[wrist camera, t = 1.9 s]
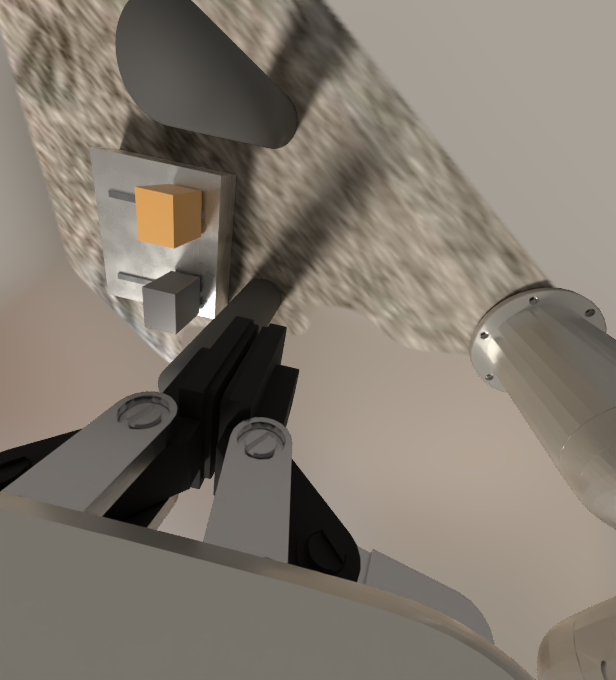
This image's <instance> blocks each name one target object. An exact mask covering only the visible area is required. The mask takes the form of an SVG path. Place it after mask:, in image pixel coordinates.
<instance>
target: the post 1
mask: <svg viewBox="0 0 616 680" xmlns="http://www.w3.org/2000/svg"><path fill="white" fill-rule="evenodd" d="M116 56H117V62H118V67H119V71H120V74H121V77H122V80H123V82H124V84H125V87H126V88H127V90H128V92H129V94H130V96H131V97H132V99H133V100H134V102H135V103H136V104H137V105H138V106H139V108H140V109H141V110H142V111H143V112H144V113H145V114H147V115H148V116H149V117H150V118H152V119H154V120H155V121H157V122H159V123H161V124H164V125H167V126H171V127H176V128H180V129H185V130H189V131H194V132H198V133H203V134H207V135H212V136H216V137H221V138H225V139H230V140H234V141H239V142H243V143H248V144H253V145H257V146H262V147H266V148H271V149H277V148H281V147H283V146H285V145H286V144H288V143H289V142H290V140H291V139H292V138H293V136H294V134H295V131H296V127H297V113H296V109H295V106H294V104H293V102H292V101H291V99H290V98H289V97H288V96H287V95H286V94H285V93H284V92H283V91H282V90H281V89H280V88H279V87H278V86H277V85H276V84H275V83H274V82H273V81H272V80H271V79H270V78H269V77H268V76H267V75H266V74H265V73H264V72H263V71H262V70H261V69H260V68H259V67H258V66H257V65H256V64H255V63H254V62H253V61H252V60H251V59H250V58H249V57H248V56H247V55H246V54H245V53H244V52H243V51H242V50H241V49H240V48H239V47H238V46H237V45H236V44H235V43H234V42H233V41H232V40H231V39H230V38H229V37H228V36H227V35H226V34H225V33H224V32H223V31H222V30H221V29H220V28H219V27H218V26H217V25H216V24H215V23H214V22H213V21H212V20H211V19H210V18H209V17H208V16H207V15H206V14H205V13H204V12H203V11H202V10H201V9H200V8H199V7H198V6H197V5H196V4H195V3H194V2H192V1H191V0H129V1H128V2H127V4H126V5H125V7H124V9H123V11H122V13H121V15H120V18H119V21H118V25H117V31H116Z"/></svg>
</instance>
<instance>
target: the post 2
mask: <svg viewBox="0 0 616 680" xmlns="http://www.w3.org/2000/svg"><path fill="white" fill-rule="evenodd" d="M280 303H281V295H280V292H279V290H278V288H277V287H276V286H275V285H274V284H273V283H272V282H270V281H269V280H266V279H254V280H252V281H250V282H249V283H248V284H247V285H246V286H245V287H244V288H243V289H242V290H241V291H240V292H239V293H238V294H237V295H236V296H235V297H234V299H233V300H232V301H231V302H230V303H229V304H228V305H227V306H226V307H225V308H224V309H223V310H222V311H221V312H220V313H219V314H218V315H217V316H216V317H215V318H214V319H213V320H212V321H211V322H210V323H209V324H208V325H207V326H206V327H205V328H204V329H203V330H202V332H200V334H199V335H198V336H197V337H196V338H195V339H194V340H193V341H192V342H191V343H190V344H189V345H188V346H187V347H186V348H185V349H184V350H183V351H182V352H181V353H180V354H179V355H178V356H177V357H176V358H175V359H174V360H173V361H172V362H171V363H170V364H169V365H168V367H166V369H165V370H164V371H163V372H162V373H161V375H160V377H159V380H158V388H159V391H160V393H163V391H164V390H165V389H166V388H167V387H168V386H169V384H170V383H171V382H172V381H173V380H174V379H175V377H176V376H177V375H178V374H179V373H180V372H181V370H182V369H183V368H184V367H185V366H186V365H187V363H188V362H189V361H190V360H191V359H192V358H193V356H194V355H195V354H196V353H197V352H198V351H199V349H201V348H202V347H205V348H211V347H212V346H213V344H214V343H215V342H216V341H217V339H218V338H219V337H220V336H221V334H222V333H223V332H224V331H225V329H226V328H227V327H228V326H229V324H230V323H231V322H232V321H233V319H234V318H235V317H236V316H241V317H245V318H250V319H253V320H254V324H257V325H259V332H260V330H261V328H262V327H263V326H265V327H267V326H268V324H269V323H270V321H271V319H272V318H273V316H274V314H275V313H276V311H277V309H278V307H279V306H280ZM259 332H258V334H259Z"/></svg>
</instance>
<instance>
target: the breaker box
mask: <svg viewBox="0 0 616 680" xmlns="http://www.w3.org/2000/svg"><path fill="white" fill-rule="evenodd" d="M90 155H91V163H92V170H93V178H94V186H95V193H96V201H97V209H98V216H99V224H100V232H101V239H102V247H103V255H104V262H105V270H106V278H107V285H108V293H109V294H111V295H115V296H119V297H123V298H128V299H132V300H136V301H140V302H143V295H142V286H144V285H146V284H148V283H150V282H152V281H154V280H155V279H157V278H159V277H161V276H163V275H165V274H166V273H168V272H170V271H175V272H179V273H184V274H188V275H192V276H196V277H200V312H199V314H198V315H200V316H204V317H208V318H213V319H214V318H215V317H216V316H217V315H218V314H219V313H220V312H221V311H222V310H223V309H224V308H225V307H226V306H227V305H228V294H229V279H230V264H231V249H232V234H233V219H234V204H235V190H236V175H235V174H230V173H226V172H221V171H217V170H212V169H207V168H203V167H198V166H194V165H189V164H184V163H180V162H175V161H171V160H166V159H162V158H157V157H152V156H148V155H143V154H139V153H134V152H129V151H125V150H120V149H109V148H97V147H90ZM161 184H172V185H177V186H181V187H186V188H191V189H195V190H200V191H202V212H201V237H200V238H197V239H195V240H193V241H191V242H188V243H186V244H184V245H181V246H179V247H177V248H174V249H173V248H169V247H165V246H160V245H156V244H152V243H147V242H143V241H138V228H137V214H136V201H135V187H136V186H148V185H161Z"/></svg>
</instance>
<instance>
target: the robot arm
mask: <svg viewBox="0 0 616 680" xmlns="http://www.w3.org/2000/svg"><path fill="white" fill-rule="evenodd" d="M531 297H532V298H531ZM530 298H531V299H530ZM286 329H287V328H286V327H284V326H280V325H276V324H271V323H270V324H269V326H268V327H265V326H263V327H262V328H261V330H260V332H259V325H257V324H254V320H253V319H250V318H245V317H241V316H236V317H235V318H234V319H233V321H232V322H231V323H230V324H229V326H228V327H227V328H226V329H225V331H224V332H223V333H222V334H221V336H220V337H219V338H218V339H217V341H216V342H215V343H214V344H213V346H212V347H211V348H205V347H202V348H201V349H199V351H198V352H197V353H196V354H195V355H194V356H193V358H192V359H191V360H190V361H189V362H188V363H187V365H186V366H185V367H184V368H183V369H182V370H181V372H180V373H179V374H178V375H177V376H176V377H175V379H174V380H173V381H172V382H171V383H170V384H169V386H168V387H167V388H166V389H165V390H164V391H163V393H159V392H140V393H135V394H132V395H130V396H127V397H125V398H123V399H122V400H120V401H118V402H117V403H116V404H114V405H113V406H112V407H111V408H109V409H108V410H107V411H105V412H104V413H103V414H101V415H100V416H99V417H97V418H96V419H95V420H93V421H92V422H91V423H90V424H88V425H87V426H86V427H84V428H83V429H80V430H76V431H72V432H69V433H65V434H62V435H58V436H55V437H51V438H48V439H44V440H41V441H37V442H34V443H30V444H26V445H23V446H20V447H16V448H12V449H9V450H6V451H3V452H0V680H536V679H534V677H532V676H531V675H530V674H529V673H528V672H527V671H526V670H525V669H523V668H522V667H521V666H520V665H519V664H518V663H517V662H516V661H515V660H513V659H512V658H511V657H509V656H508V655H507V654H505V653H504V652H503V651H502V650H500V649H499V648H497V647H496V646H495V645H494V641H493V637H492V633H491V630H490V627H489V625H488V624H487V622H486V620H485V618H484V616H483V615H482V613H481V612H480V611H479V610H478V608H477V607H476V606H475V605H474V604H473V602H472V601H471V600H469V599H468V598H466V597H465V596H464V595H462V594H461V593H459V592H458V591H456V590H454V589H452V588H449V587H447V586H446V585H444V584H442V583H440V582H438V581H436V580H434V579H432V578H430V577H428V576H426V575H424V574H422V573H420V572H418V571H416V570H414V569H412V568H410V567H408V566H406V565H404V564H402V563H400V562H398V561H396V560H394V559H392V558H390V557H388V556H386V555H384V554H382V553H380V552H378V551H376V550H374V549H373V550H372V552H371V553H370V552H368V551H366V550H364V549H362V548H360V547H358V546H357V545H356V543H355V541H354V539H353V538H352V536H351V534H350V533H349V532H348V531H347V529H346V528H345V527H344V525H343V524H342V523H341V521H340V520H339V519H338V518H337V516H336V515H335V514H334V512H333V511H332V510H331V509H330V507H329V506H328V505H327V503H326V502H325V501H324V499H323V498H322V497H321V496H320V494H319V493H318V492H317V490H316V489H315V488H314V487H313V485H312V484H311V483H310V481H309V480H308V479H307V478H306V476H305V475H304V474H303V472H302V471H301V470H300V469H299V467H298V466H297V465H296V463H295V462H294V461H293V459H292V439H291V435H290V433H289V431H288V430H287V428H286V425H287V421H288V417H289V414H290V410H291V406H292V402H293V398H294V393H295V389H296V384H297V379H298V375H299V369H296V368H291V367H287V366H283V365H281V359H282V353H283V347H284V341H285V336H286ZM258 332H259V334H258ZM481 333H482V334H481ZM469 353H470V359H471V362H472V365H473V367H474V369H475V371H476V372H477V374H478V376H479V377H480V378H481V379H482V380H483V381H484V382H485V383H486V384H488V385H489V386H491V387H493V388H495V389H497V390H499V391H502V392H506V393H508V395H509V396H510V398H511V399H512V401H513V402H514V404H515V405H516V407H517V408H518V410H519V411H520V413H521V414H522V416H523V417H524V419H525V420H526V422H527V423H528V425H529V426H530V428H531V430H532V431H533V432H534V434H535V436H536V437H537V439H538V440H539V442H540V443H541V445H542V446H543V448H544V449H545V451H546V452H547V454H548V455H549V457H550V458H551V460H552V462H553V463H554V465H555V466H556V468H557V469H558V471H559V472H560V474H561V475H562V477H563V478H564V480H565V481H566V482H567V484H568V486H569V487H570V488H571V490H572V491H573V493H574V494H575V495H576V497H577V498H578V500H579V501H580V502H581V503H582V504H583V505H584V506H585V507H586V508H587V509H588V510H589V511H590V512H591V513H592V514H594V515H595V516H596V517H597V518H599V519H600V520H601V521H602V522H604V523H606V524H607V525H609V526H610V527H612V528H614V529H615V530H616V340H615V339H614V338H612V337H611V336H609V335H608V334H606V324H605V319H604V317H603V315H602V313H601V311H600V310H599V308H598V307H597V306H596V305H595V304H594V303H593V302H592V301H590V300H588V299H587V298H585V297H584V296H582V295H580V294H578V293H575V292H573V291H570V290H566V289H562V288H538V289H532V290H528V291H524V292H521V293H518V294H516V295H514V296H511V297H509V298H507V299H505V300H504V301H502V302H501V303H499V304H497V305H496V306H495V307H493V308H492V309H491V310H490V311H489V312H488V313H487V314H486V315H485V316H484V317H483V318H482V319H481V321H480V322H479V323H478V325H477V327H476V328H475V330H474V332H473V335H472V338H471V341H470V349H469ZM214 472H215V479H214V496H215V497H214V502H213V505H212V509H211V513H210V517H209V521H208V524H207V528H206V532H205V536H204V540H203V542H200V541H197V540H193V539H189V538H185V537H181V536H177V535H173V534H169V533H165V532H161V531H157V529H158V527H159V526H160V524H161V523H162V522H163V520H164V519H165V518H166V516H167V515H168V513H169V512H170V511H171V509H172V508H173V507H174V505H175V503H176V501H177V499H178V496H179V493H181V492H183V491H185V490H187V489H190V487H192V488H196V489H200V487H201V485H202V483H203V481H204V479H205V478H209V479H211V478H212V476H213V474H214ZM537 677H538V680H616V596H615V597H613V598H611V599H608V600H606V601H603V602H601V603H599V604H596V605H594V606H592V607H589V608H587V609H585V610H582V611H581V612H579V613H577V614H574V615H572V616H570V617H569V618H566V619H565V620H563V621H561V622H559V623H558V624H556V625H555V626H554V627H553V628H551V630H549V631H548V633H547V634H546V635H545V636H544V638H543V640H542V642H541V644H540V647H539V650H538V656H537Z"/></svg>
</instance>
